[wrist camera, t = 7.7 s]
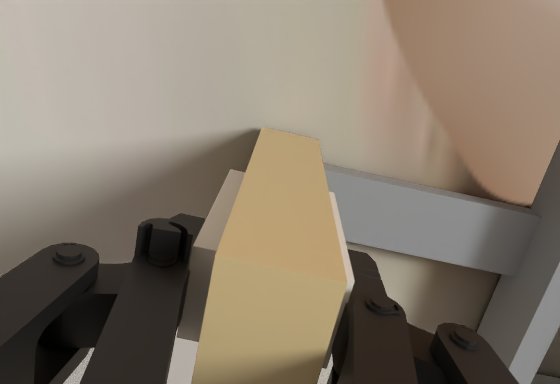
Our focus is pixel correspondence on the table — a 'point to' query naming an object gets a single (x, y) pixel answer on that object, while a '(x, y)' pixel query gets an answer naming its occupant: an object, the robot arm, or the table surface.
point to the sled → (372, 232)
